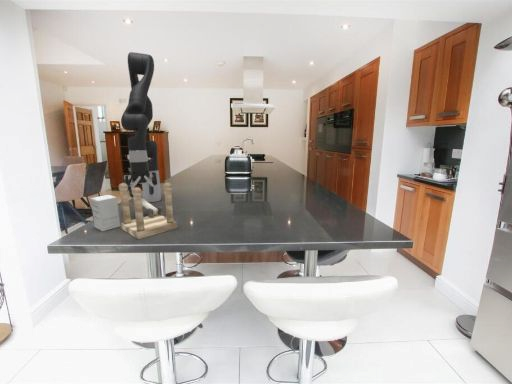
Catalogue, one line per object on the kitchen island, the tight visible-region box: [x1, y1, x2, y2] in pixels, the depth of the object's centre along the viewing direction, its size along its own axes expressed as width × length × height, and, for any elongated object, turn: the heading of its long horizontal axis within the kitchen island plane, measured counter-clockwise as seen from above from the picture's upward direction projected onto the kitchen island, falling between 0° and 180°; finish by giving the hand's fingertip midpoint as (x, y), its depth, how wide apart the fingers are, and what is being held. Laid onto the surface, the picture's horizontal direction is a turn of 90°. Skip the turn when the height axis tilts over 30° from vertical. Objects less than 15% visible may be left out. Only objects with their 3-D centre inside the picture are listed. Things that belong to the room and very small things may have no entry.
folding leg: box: [141, 197, 158, 215], centre depth 119 cm, size 3×3×14 cm
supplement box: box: [90, 194, 121, 232], centre depth 108 cm, size 7×7×13 cm
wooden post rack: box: [118, 182, 179, 240], centre depth 106 cm, size 16×17×19 cm
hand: (142, 196), depth 122 cm, fingers open, 8 cm apart
